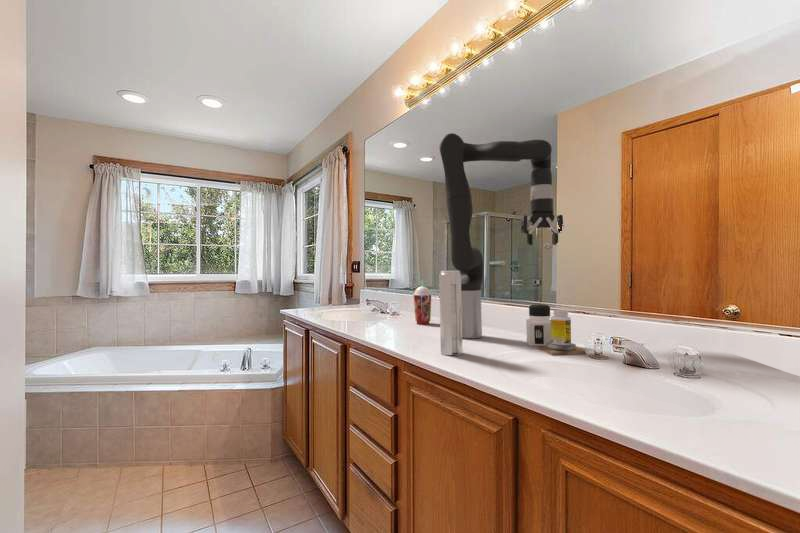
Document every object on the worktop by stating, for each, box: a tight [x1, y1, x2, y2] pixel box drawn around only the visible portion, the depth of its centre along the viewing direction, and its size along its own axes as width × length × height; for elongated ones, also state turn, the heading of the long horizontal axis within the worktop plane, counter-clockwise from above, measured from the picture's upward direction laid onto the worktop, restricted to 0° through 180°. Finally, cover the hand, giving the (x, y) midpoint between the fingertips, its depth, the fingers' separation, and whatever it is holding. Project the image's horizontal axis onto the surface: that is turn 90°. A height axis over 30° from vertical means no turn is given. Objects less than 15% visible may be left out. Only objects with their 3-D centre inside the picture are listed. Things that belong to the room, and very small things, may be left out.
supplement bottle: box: [550, 309, 572, 346], centre depth 117 cm, size 6×6×10 cm
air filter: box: [438, 270, 464, 356], centre depth 117 cm, size 6×6×25 cm
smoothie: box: [413, 279, 432, 326], centre depth 180 cm, size 8×8×20 cm
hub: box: [537, 342, 587, 356], centre depth 117 cm, size 10×10×2 cm
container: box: [525, 303, 551, 347], centre depth 129 cm, size 8×8×13 cm
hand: (542, 245), depth 138 cm, fingers open, 8 cm apart
